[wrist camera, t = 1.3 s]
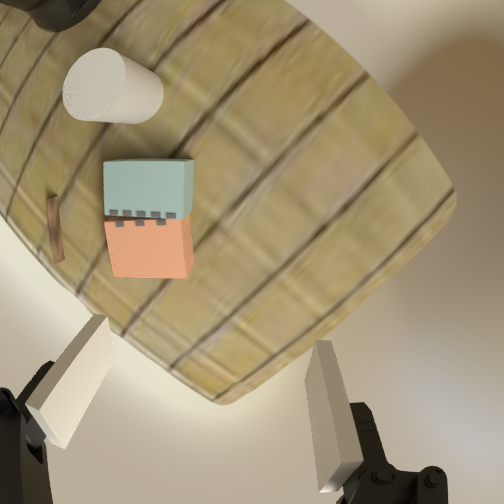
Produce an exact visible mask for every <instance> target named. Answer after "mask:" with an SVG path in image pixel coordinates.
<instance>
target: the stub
mask: <svg viewBox="0 0 504 504" xmlns="http://www.w3.org/2000/svg"><path fill="white" fill-rule="evenodd" d="M104 225H105V232H106V238H107V244H108V249H109V255H110V260H111V265H112V270H113V275H114V277H138V278H187V277H188V275H189V273H190V271H191V269H192V267H193V265H194V258H193V247H192V236H191V224H190V213H189V214H188V215H187V216H186V217H185V218H184V219H183V220H181V219H166V218H150V217H133V216H114V217H112V218H111V219H109V220H107V221H105V222H104Z"/></svg>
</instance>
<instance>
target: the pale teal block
mask: <svg viewBox="0 0 504 504" xmlns="http://www.w3.org/2000/svg"><path fill="white" fill-rule="evenodd" d="M193 179H194V159H117V160H111V161H106V162H104V210H105V215H114V216H133V217H150V218H166V219H181V220H183V219H184V218H185V217H186V216H187V215H188V214H189V213H190V212H191V211H192V206H193Z"/></svg>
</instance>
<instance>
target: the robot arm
mask: <svg viewBox="0 0 504 504" xmlns="http://www.w3.org/2000/svg"><path fill="white" fill-rule="evenodd" d="M100 1H101V0H0V3H2V4H5V5H9V6H12V7H15V8H18V9H21V10H23V11H26V12H27V13H28V14H29V15H30V16H31V17H32V18H33V19H34V20H35V22H36V24H37V25H38V26H39V27H40V28H42V29H45V30H47V31H50V32H59V31H63V30H66V29H68V28H70V27H72V26H74V25H75V24H77V23H78V22H80V21H81V20H83V19H84V18H85V17H86V16H87V15H88V14H89V13H90V12H91V11H92V10H93V9H94V8H95V7H96V6H97V5H98V4H99V2H100ZM115 358H116V354H115V350H114V346H113V342H112V337H111V332H110V328H109V323H108V318H107V316H104V315H99V314H94V315H93V316H92V318H91V319H90V320H89V321H88V322H87V324H86V325H85V326H84V327H83V328H82V330H81V331H80V332H79V333H78V334H77V336H76V337H75V338H74V339H73V341H72V342H71V343H70V344H69V345H68V347H67V348H66V349H65V350H64V352H63V353H62V354H61V356H60V357H59V358H58V359H57V361H56V362H53V361H48V362H47V363H45V364H44V365H42V366H41V367H40V369H39V370H38V371H37V373H36V375H34V377H33V378H32V380H31V381H30V382H29V383H28V384H27V385H26V387H25V388H24V389H23V391H22V392H21V394H20V395H19V396H18V398H17V399H15V398H14V396H13V394H12V393H11V391H10V390H9V389H7V388H2V387H1V388H0V504H53V500H52V494H51V488H50V481H49V473H48V463H47V452H46V445H45V442H44V439H45V437H46V436H47V438H48V439H49V440H50V442H51V443H52V444H54V445H57V446H59V447H61V448H63V449H66V446H67V445H68V443H69V441H70V439H71V437H72V435H73V433H74V431H75V429H76V428H77V426H78V424H79V422H80V420H81V418H82V416H83V414H84V413H85V411H86V409H87V407H88V405H89V404H90V402H91V400H92V398H93V396H94V395H95V393H96V391H97V389H98V387H99V386H100V384H101V382H102V381H103V379H104V377H105V375H106V374H107V372H108V370H109V368H110V367H111V365H112V363H113V362H114V360H115ZM305 386H306V392H307V400H308V406H309V414H310V421H311V429H312V436H313V445H314V453H315V462H316V470H317V479H318V487H319V493H322V492H333V491H338V490H339V489H340V488H341V487H342V486H343V491H344V494H343V495H342V496H341V497H340V498H339V500H338V501H337V502H336V504H448V486H447V477H446V474H445V472H444V471H443V470H442V469H441V468H439V467H436V466H429V467H426V468H424V469H423V470H421V471H420V472H408V471H400V470H397V469H396V468H395V467H394V466H393V465H391V464H389V463H388V462H387V460H386V457H385V453H384V450H383V447H382V443H381V440H380V437H379V434H378V431H377V428H376V424H375V423H374V418H373V415H372V412H371V410H370V409H369V408H368V406H367V405H366V404H365V403H364V402H360V403H349V401H348V397H347V394H346V390H345V386H344V383H343V379H342V376H341V372H340V369H339V366H338V362H337V359H336V355H335V352H334V349H333V345H332V342H331V341H328V340H327V341H326V340H325V341H324V340H315V344H314V348H313V352H312V356H311V359H310V364H309V367H308V370H307V374H306V378H305Z"/></svg>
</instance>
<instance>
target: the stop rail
mask: <svg viewBox="0 0 504 504" xmlns="http://www.w3.org/2000/svg"><path fill="white" fill-rule="evenodd" d="M46 201H47V213H48V223H49V231H50V239H51V246H52V253H53V259H54V263H59V262H61V261H62V260H64V259H65V258H64V252H63V245H62V237H61V229H60V219H59V207H58V196H52V197H49V198H46Z"/></svg>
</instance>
